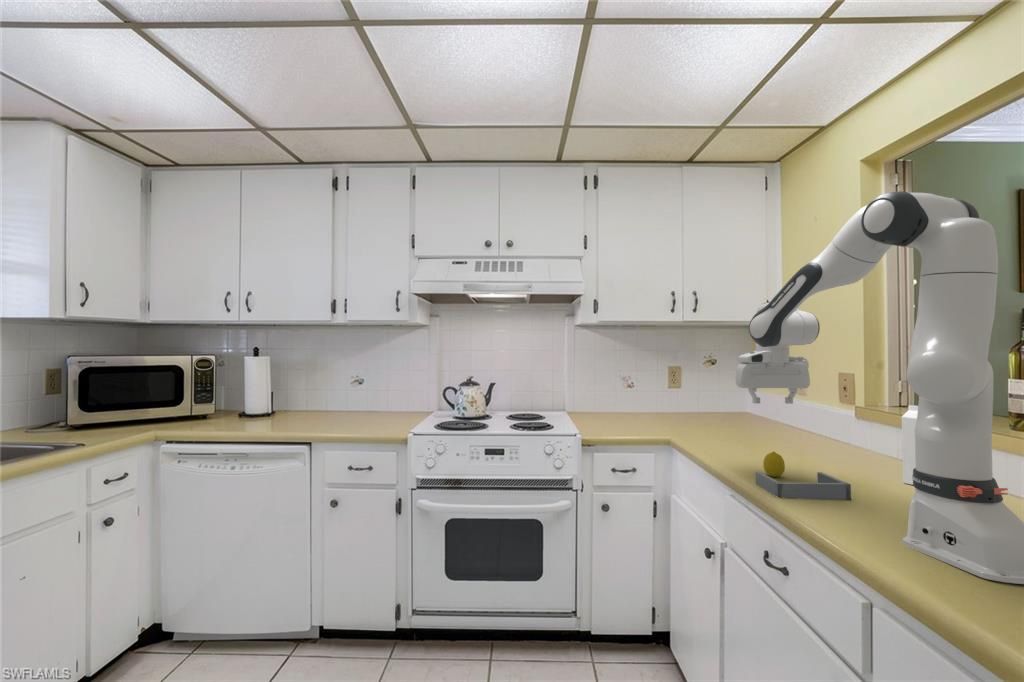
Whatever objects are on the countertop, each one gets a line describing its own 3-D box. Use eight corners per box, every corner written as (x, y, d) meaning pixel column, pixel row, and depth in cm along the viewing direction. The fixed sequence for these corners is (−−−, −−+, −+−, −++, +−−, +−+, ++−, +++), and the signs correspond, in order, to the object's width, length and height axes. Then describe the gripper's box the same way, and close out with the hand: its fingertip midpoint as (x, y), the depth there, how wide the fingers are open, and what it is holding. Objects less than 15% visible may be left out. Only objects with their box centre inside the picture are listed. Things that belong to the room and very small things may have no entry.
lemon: (788, 481, 136) (787, 453, 136) (767, 480, 137) (766, 453, 138) (781, 476, 142) (780, 450, 142) (761, 475, 143) (760, 449, 143)
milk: (926, 488, 129) (924, 407, 129) (902, 482, 135) (900, 405, 135) (941, 486, 131) (939, 406, 131) (917, 480, 137) (915, 404, 137)
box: (851, 500, 119) (850, 484, 119) (777, 499, 120) (777, 483, 120) (822, 486, 131) (821, 472, 131) (755, 486, 132) (755, 471, 132)
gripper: (802, 356, 143) (802, 402, 143) (733, 356, 144) (733, 402, 144) (814, 356, 137) (815, 404, 136) (742, 356, 138) (742, 404, 137)
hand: (772, 403), depth 140 cm, fingers open, 8 cm apart
